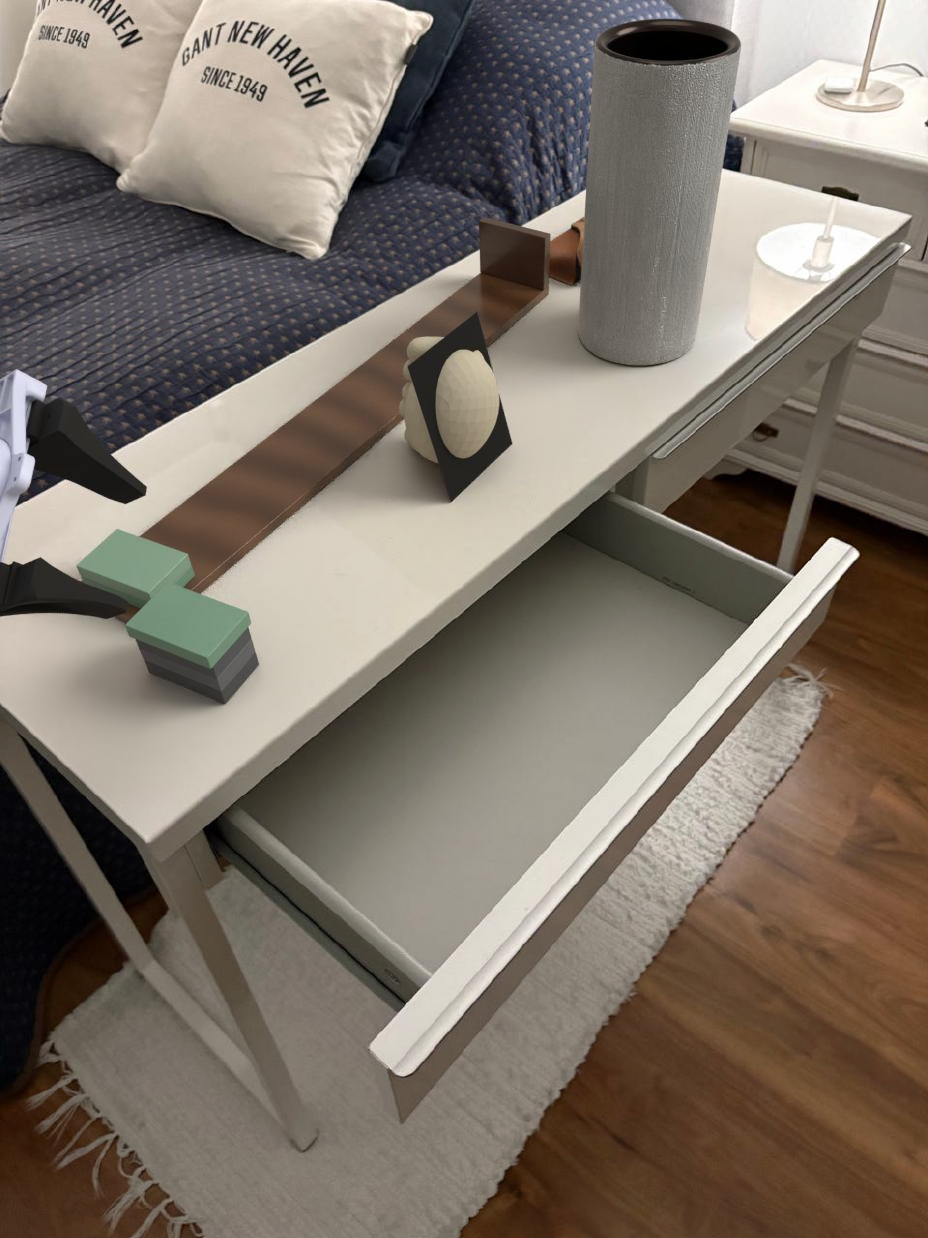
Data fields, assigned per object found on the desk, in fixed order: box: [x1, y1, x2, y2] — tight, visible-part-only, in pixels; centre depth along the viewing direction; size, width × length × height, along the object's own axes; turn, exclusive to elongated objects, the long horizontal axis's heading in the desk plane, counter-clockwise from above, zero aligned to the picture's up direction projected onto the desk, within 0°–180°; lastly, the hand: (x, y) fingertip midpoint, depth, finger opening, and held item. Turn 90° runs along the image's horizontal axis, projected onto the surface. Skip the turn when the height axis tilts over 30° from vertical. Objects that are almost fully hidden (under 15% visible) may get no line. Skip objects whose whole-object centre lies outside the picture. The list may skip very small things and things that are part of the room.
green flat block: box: [75, 528, 195, 609], centre depth 76 cm, size 5×7×2 cm, turn 63°
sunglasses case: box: [549, 216, 585, 286], centre depth 114 cm, size 18×7×7 cm, turn 141°
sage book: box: [124, 582, 252, 669], centre depth 68 cm, size 5×7×1 cm, turn 63°
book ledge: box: [80, 216, 551, 624], centre depth 90 cm, size 61×8×7 cm, turn 147°
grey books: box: [135, 626, 260, 705], centre depth 70 cm, size 4×7×4 cm, turn 63°
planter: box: [578, 18, 742, 366], centre depth 91 cm, size 12×12×28 cm
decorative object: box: [399, 312, 513, 503], centre depth 84 cm, size 13×10×10 cm
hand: (127, 551), depth 58 cm, fingers open, 7 cm apart
